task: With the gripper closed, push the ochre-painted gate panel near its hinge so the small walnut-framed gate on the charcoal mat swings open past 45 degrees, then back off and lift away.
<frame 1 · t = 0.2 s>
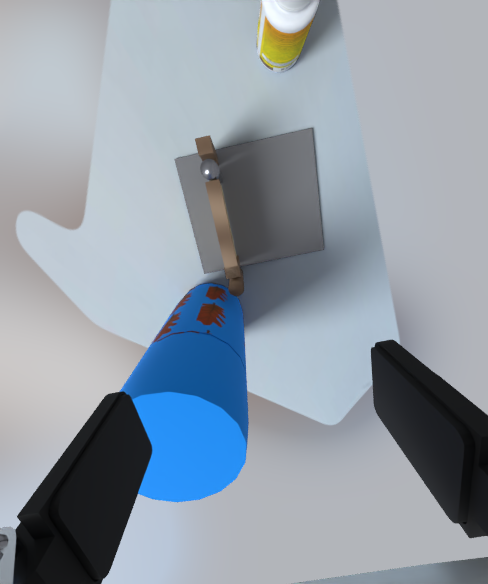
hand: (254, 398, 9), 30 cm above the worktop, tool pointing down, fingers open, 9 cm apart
gate: (223, 221, 32), point 5 cm above the worktop, hinge at 0.0°
thermos: (211, 312, 41), on the worktop
gate frame: (253, 207, 36), on the worktop
supplement bottle: (278, 48, 30), on the worktop
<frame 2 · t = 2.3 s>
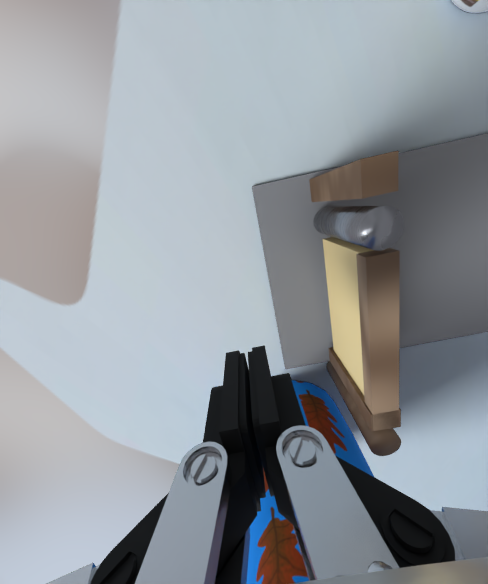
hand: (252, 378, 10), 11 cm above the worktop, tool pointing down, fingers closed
gate: (353, 308, 17), point 5 cm above the worktop, hinge at 0.0°
thermos: (288, 418, 26), on the worktop
gate frame: (380, 265, 21), on the worktop
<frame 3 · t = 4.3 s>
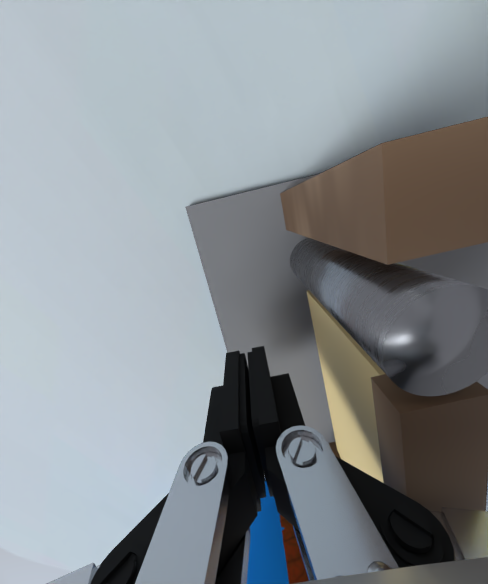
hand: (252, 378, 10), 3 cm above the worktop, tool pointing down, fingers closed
gate: (366, 423, 9), point 5 cm above the worktop, hinge at 1.8°, touching gripper
thermos: (270, 525, 18), on the worktop
gate frame: (400, 322, 13), on the worktop
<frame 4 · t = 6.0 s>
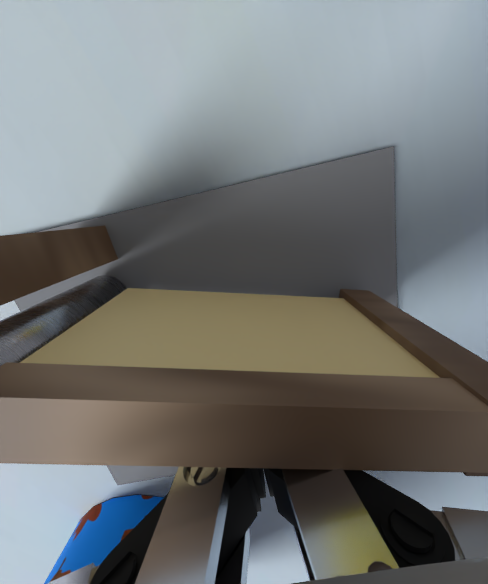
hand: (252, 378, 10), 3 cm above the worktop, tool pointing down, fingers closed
gate: (224, 339, 8), point 5 cm above the worktop, hinge at 74.1°
thermos: (146, 537, 19), on the worktop
gate frame: (225, 350, 14), on the worktop
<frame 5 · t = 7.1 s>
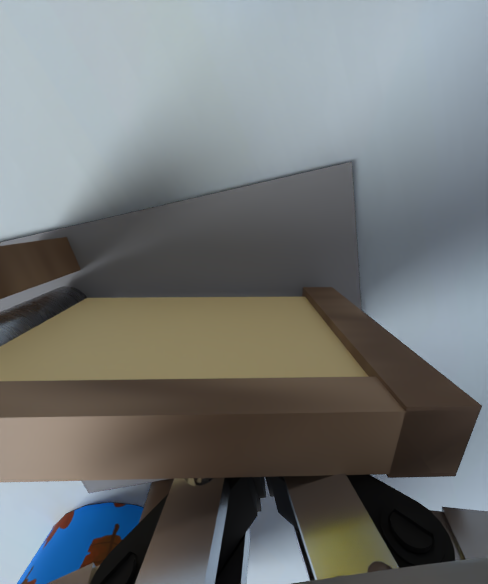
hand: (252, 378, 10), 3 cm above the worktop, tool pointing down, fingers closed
gate: (170, 346, 8), point 5 cm above the worktop, hinge at 77.9°, touching gripper
thermos: (121, 544, 19), on the worktop
gate frame: (192, 359, 14), on the worktop
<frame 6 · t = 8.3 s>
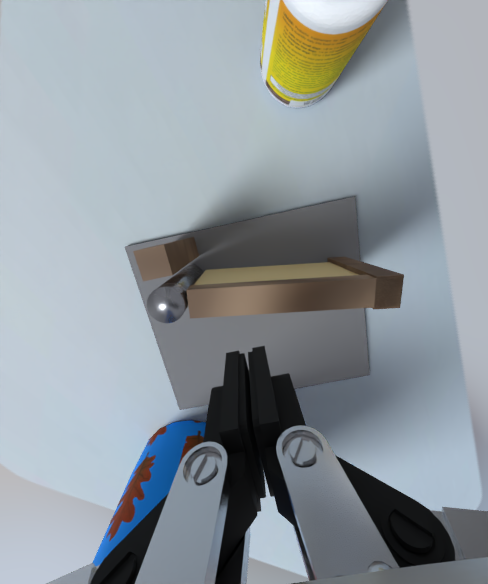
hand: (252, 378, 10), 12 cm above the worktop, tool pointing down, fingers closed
gate: (266, 282, 16), point 5 cm above the worktop, hinge at 81.5°
thermos: (192, 457, 27), on the worktop
gate frame: (256, 314, 22), on the worktop
supplement bottle: (297, 67, 17), on the worktop
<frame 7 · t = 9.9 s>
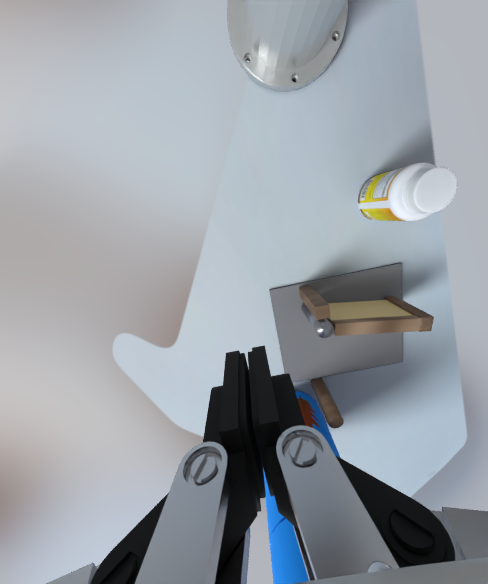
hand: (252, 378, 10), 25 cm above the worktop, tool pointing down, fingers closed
gate: (359, 314, 32), point 5 cm above the worktop, hinge at 81.6°
thermos: (288, 413, 43), on the worktop
gate frame: (338, 327, 38), on the worktop
supplement bottle: (375, 198, 32), on the worktop
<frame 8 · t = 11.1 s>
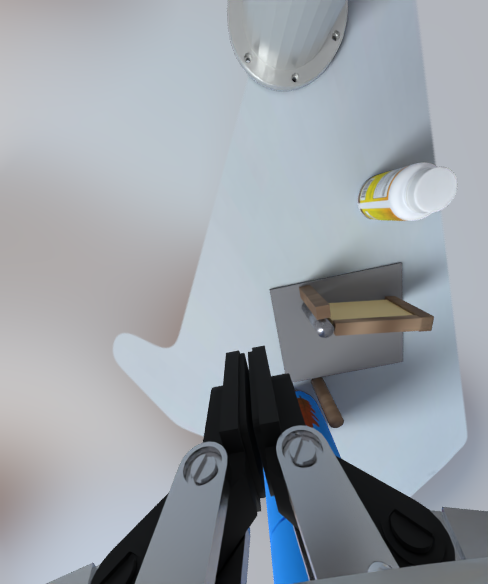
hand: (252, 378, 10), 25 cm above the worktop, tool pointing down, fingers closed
gate: (359, 314, 32), point 5 cm above the worktop, hinge at 81.6°
thermos: (288, 413, 43), on the worktop
gate frame: (339, 326, 38), on the worktop
supplement bottle: (375, 197, 32), on the worktop
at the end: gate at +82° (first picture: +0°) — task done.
